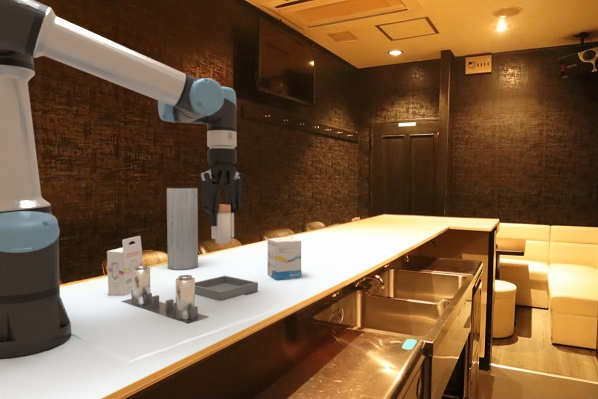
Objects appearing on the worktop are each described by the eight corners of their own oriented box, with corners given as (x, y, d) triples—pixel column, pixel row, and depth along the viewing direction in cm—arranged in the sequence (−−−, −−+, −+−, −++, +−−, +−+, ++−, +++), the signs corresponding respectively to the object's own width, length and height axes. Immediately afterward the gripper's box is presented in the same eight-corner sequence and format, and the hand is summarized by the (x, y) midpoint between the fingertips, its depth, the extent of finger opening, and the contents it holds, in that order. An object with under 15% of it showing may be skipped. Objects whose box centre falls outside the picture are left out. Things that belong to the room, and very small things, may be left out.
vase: (161, 269, 143) (160, 188, 142) (177, 263, 153) (176, 187, 151) (189, 270, 140) (188, 188, 139) (203, 265, 150) (202, 187, 149)
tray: (220, 302, 104) (220, 292, 104) (187, 293, 112) (187, 284, 112) (257, 291, 114) (257, 282, 114) (224, 284, 122) (224, 275, 122)
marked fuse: (222, 244, 110) (222, 205, 109) (211, 242, 112) (211, 204, 112) (234, 242, 113) (234, 204, 113) (223, 241, 116) (223, 204, 115)
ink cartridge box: (126, 288, 118) (126, 234, 117) (143, 289, 117) (142, 235, 116) (106, 296, 109) (105, 239, 109) (124, 297, 108) (123, 239, 108)
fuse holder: (187, 325, 87) (187, 281, 87) (120, 302, 104) (120, 265, 103) (209, 318, 92) (209, 277, 91) (141, 297, 108) (141, 262, 108)
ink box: (302, 278, 130) (302, 240, 130) (275, 280, 127) (275, 241, 127) (292, 272, 138) (292, 236, 138) (266, 274, 135) (266, 237, 135)
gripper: (205, 145, 103) (206, 242, 104) (255, 149, 116) (255, 235, 117) (186, 147, 107) (187, 240, 108) (236, 150, 121) (236, 233, 122)
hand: (222, 237), depth 113 cm, fingers closed on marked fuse, 4 cm apart
